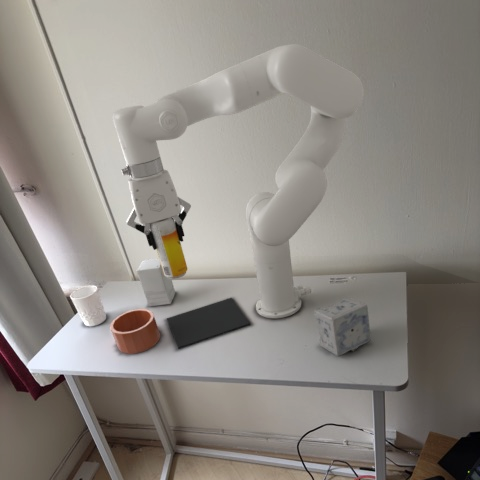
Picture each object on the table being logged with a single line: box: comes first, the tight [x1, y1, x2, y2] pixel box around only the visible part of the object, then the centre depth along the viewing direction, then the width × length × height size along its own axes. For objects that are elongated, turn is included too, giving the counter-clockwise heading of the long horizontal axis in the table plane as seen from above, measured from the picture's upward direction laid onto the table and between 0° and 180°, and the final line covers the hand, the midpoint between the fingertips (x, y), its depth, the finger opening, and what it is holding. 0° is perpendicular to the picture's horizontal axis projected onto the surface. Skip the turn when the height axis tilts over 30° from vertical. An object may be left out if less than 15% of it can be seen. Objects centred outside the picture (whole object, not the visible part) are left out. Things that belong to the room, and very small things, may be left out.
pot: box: [109, 308, 161, 355], centre depth 113 cm, size 12×12×6 cm
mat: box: [166, 297, 251, 350], centre depth 116 cm, size 20×16×1 cm
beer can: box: [150, 217, 188, 280], centre depth 103 cm, size 6×6×15 cm
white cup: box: [69, 284, 107, 327], centre depth 125 cm, size 8×8×10 cm
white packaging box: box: [136, 257, 176, 307], centre depth 129 cm, size 7×7×13 cm
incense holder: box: [314, 296, 372, 357], centre depth 96 cm, size 10×8×10 cm
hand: (167, 243), depth 103 cm, fingers closed on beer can, 6 cm apart
